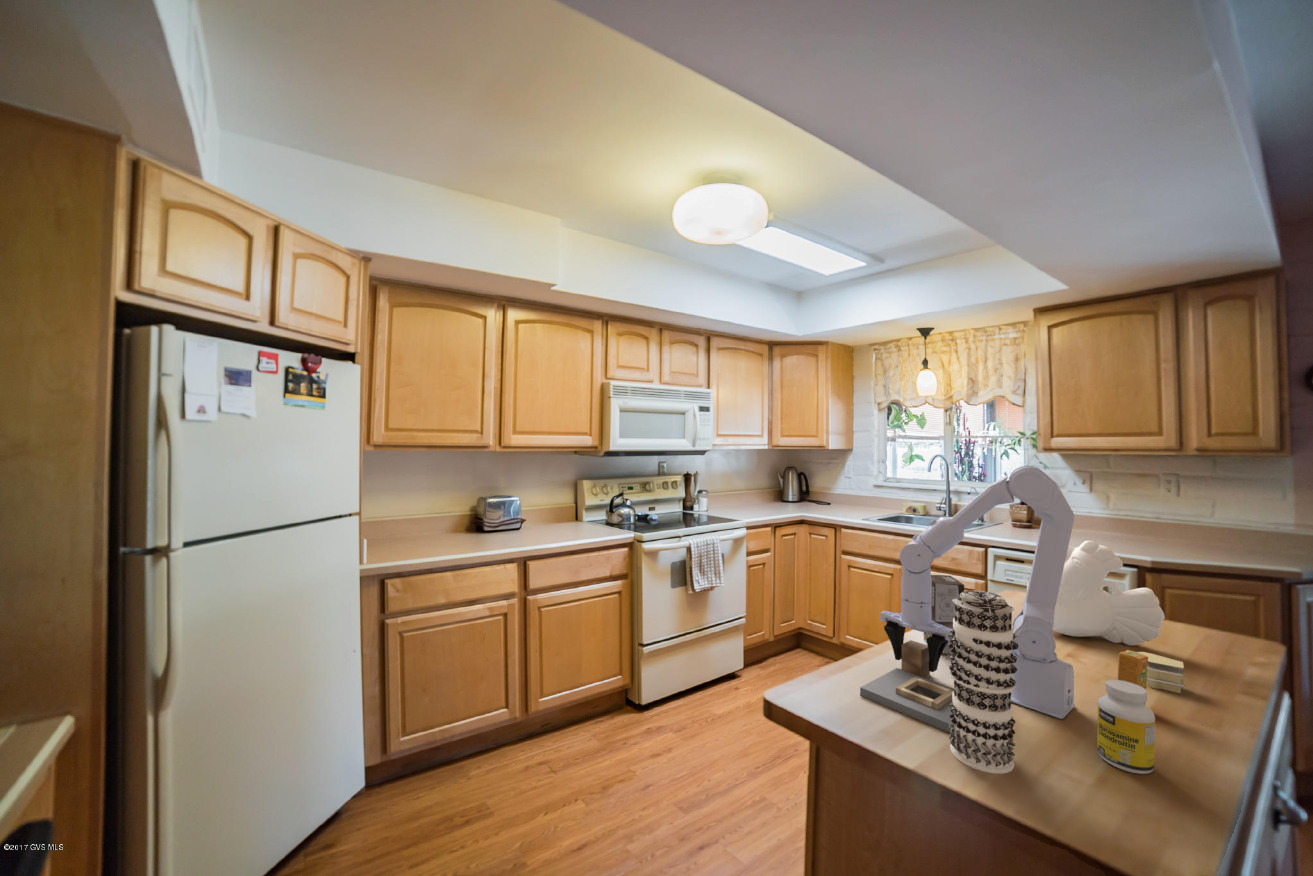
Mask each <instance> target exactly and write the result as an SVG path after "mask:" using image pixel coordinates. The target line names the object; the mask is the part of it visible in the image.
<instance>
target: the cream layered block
mask: <svg viewBox="0 0 1313 876" xmlns="http://www.w3.org/2000/svg"><path fill="white" fill-rule="evenodd" d="M1136 652H1137V653H1140V654H1143V655H1145V656H1147V657H1148V667H1147V685H1146V687H1148V688H1153V689H1162V690H1165V691H1169V692H1173V693H1177V694H1181V693H1182V687H1184V686H1185V685H1184V679H1183V678H1182V677H1184V676H1185V673H1184V668H1185V666H1184V662H1183V661H1180V660H1177V659H1172V658H1169V657H1165V656H1162V655H1157V654H1155V653H1152V652H1151V653H1149V652H1145V651H1136Z"/></svg>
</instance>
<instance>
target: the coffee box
mask: <svg viewBox="0 0 1313 876" xmlns="http://www.w3.org/2000/svg"><path fill="white" fill-rule="evenodd" d="M931 579H932V611H931V621H933V622H935V623H938V624H940V625H943V626H945V627H948V628H951V629H954V628H953V618H954V617H955V613H954V608H955V603H953V601H952V600H953V599H954V598H957V597H958V596H959V595H960V594H961V593H962V592H964V591H965V584H963V583H962V582H960V581H959V580H957V579H956V578H955V577H953V576H951V575H946V574H931ZM928 637H932V635H931V634H928V633H924V632H923V640H924V641H925V642H926V643H927V641H926V639H927V638H928ZM949 643H950V641H949V642H948V643H947V645H946V646H945V648H944V650H943V652H942V654H950V655H951V653H952V652H950V648H949V646H948V644H949ZM953 647H954V645H953Z"/></svg>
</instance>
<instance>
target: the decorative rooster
mask: <svg viewBox="0 0 1313 876" xmlns="http://www.w3.org/2000/svg"><path fill="white" fill-rule="evenodd" d="M1123 566H1124V563H1123V561H1122V559H1121V558H1120V557H1119V556H1116V553H1115V552H1114V551H1113V549H1111V548H1109V547H1108V546H1106V545H1102V544H1098V542H1095V541H1093V540H1084V541H1083V542H1082V543H1081V544H1080V545H1079V546H1077V547H1075V546H1072V545H1069V546H1068V550H1067V555H1066V560H1065V564H1064V569H1063V573H1062V578H1061V583H1060V587H1059V592H1058V597H1057V601H1056V606H1055V612H1054V625H1053V631H1055V632H1057V633H1059V634H1062V635H1066V636H1070V637H1080V638H1081V637H1102V638H1104V639H1105V640H1107V641H1109V642H1111V643H1113V644H1120V643H1123V644H1125V645H1126V646H1137V645H1140V644H1143V643H1145V642H1151V641H1152V640H1153V639H1158V638H1159V637H1160V636H1161V634H1162V629H1161V627H1163V625H1164V620H1165V619H1166V617H1165V613H1164V611H1163V609H1162V608H1161V606H1160V600H1159V598H1158V596H1157V595H1156V594H1155V593H1154V591H1153V589H1151V588H1148V587H1139V588H1134V589H1133V588H1132V589H1129V590H1124V591H1122V589H1121V587H1120V586H1119V585H1118V584H1117V583H1116V582H1113V581H1110V580H1105V578H1107V576H1108V574H1109V573H1111V572H1116V571H1119V570H1121V569H1122V568H1123ZM1028 583H1029V581H1028V582H1027V584H1026V585H1027V586H1026V589H1027V588H1028ZM1105 587H1107V588H1108V587H1109V588H1111V589H1112V590H1113V591H1114V593H1112V594H1111V593H1109V592H1107V591H1106V590H1104V588H1105Z"/></svg>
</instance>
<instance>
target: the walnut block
mask: <svg viewBox="0 0 1313 876" xmlns="http://www.w3.org/2000/svg"><path fill="white" fill-rule="evenodd" d="M900 668H901V670H904V671H906V672H909V673H912V674H915V675H918V676H920V677H923V678H926V677H928V676H930V675H931V672H930V671H929V651H928V645H927V644H924V643H922V642H918V641H915V640H912V639H911V640H908V641H906V642H905V643H903V644H902V659H901V667H900Z"/></svg>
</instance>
